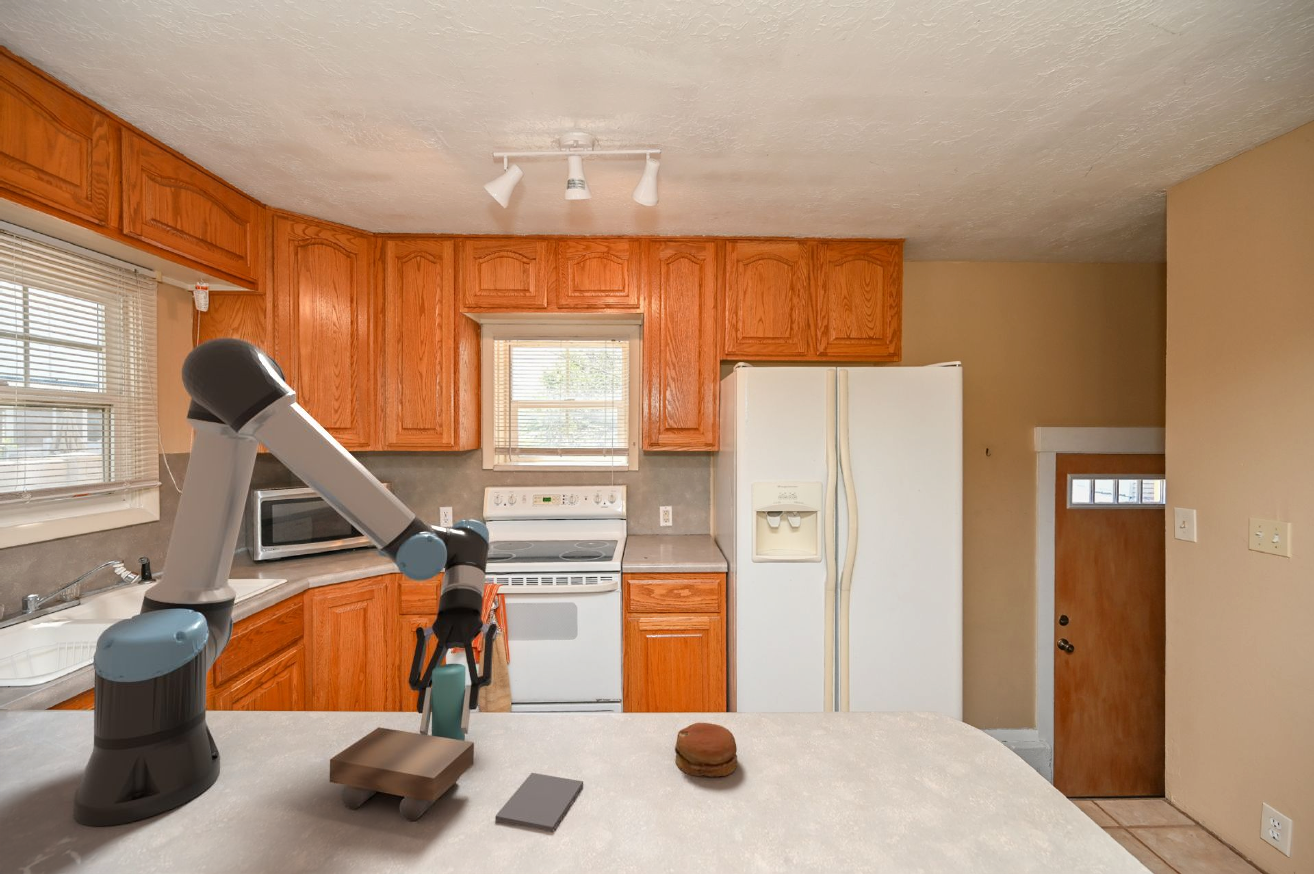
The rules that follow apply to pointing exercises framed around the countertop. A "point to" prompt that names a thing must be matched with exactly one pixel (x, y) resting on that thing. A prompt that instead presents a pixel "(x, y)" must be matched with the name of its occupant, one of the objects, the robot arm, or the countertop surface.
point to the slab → (400, 768)
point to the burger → (706, 750)
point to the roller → (448, 701)
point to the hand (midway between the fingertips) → (444, 732)
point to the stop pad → (540, 802)
